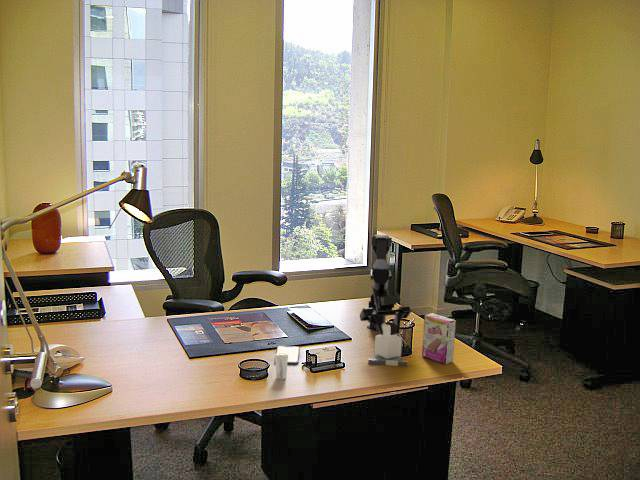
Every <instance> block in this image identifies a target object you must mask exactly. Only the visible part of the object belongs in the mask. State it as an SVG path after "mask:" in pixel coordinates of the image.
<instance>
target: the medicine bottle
mask: <svg viewBox="0 0 640 480" xmlns="http://www.w3.org/2000/svg"><path fill="white" fill-rule="evenodd" d="M381 327H382V331H383V334H382V335H381V334H380V333H379V334H377V335H375V339H374V355H375V354H377V355H379V356H382V357H384V358H386V359H389V358H393V357H397V356H400V355H401V356H402V344H403V343H402V341H403V337H401V336H400V335H398V334H397V325H396V324H394V322H390V321H389V322H386V321H385V323H383V324H382V325H381Z"/></svg>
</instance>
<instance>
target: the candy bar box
mask: <svg viewBox="0 0 640 480" xmlns="http://www.w3.org/2000/svg"><path fill="white" fill-rule="evenodd" d="M423 322H424V323H423V333H422V335H423V337H422V349H421V351H422V352H421V356H422V357H423V358H426V359H429V360H432V361H434V362H437V363H440V364H443V365H449V364H450V363H453V362H454V353H455V352H454V350H455V339H456V336H455V335H456V324H457V320H455V319H454V318H449V317H446V316H443V315H440V314H436V313H433V312H431V313H427V314H425V315H424V318H423Z"/></svg>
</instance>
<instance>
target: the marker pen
mask: <svg viewBox="0 0 640 480" xmlns="http://www.w3.org/2000/svg"><path fill="white" fill-rule="evenodd" d="M367 362H368V363H367V364H369V365H383V366H394V367H395V366H398V367H407V366H408V360H388V359H375V358H368V361H367Z"/></svg>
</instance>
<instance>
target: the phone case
mask: <svg viewBox="0 0 640 480" xmlns="http://www.w3.org/2000/svg"><path fill="white" fill-rule="evenodd" d="M280 351H282V352H285V353H287V354H288V362H287V366H298V365H299V361H300V353H301V352H300V351H301V349H300V347H299V346H295V345H293V346H292V345H290V346H288V345H279V346H276V351H275V354H276V353H278V352H280ZM274 364H275V365H276V363H275V361H274Z"/></svg>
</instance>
